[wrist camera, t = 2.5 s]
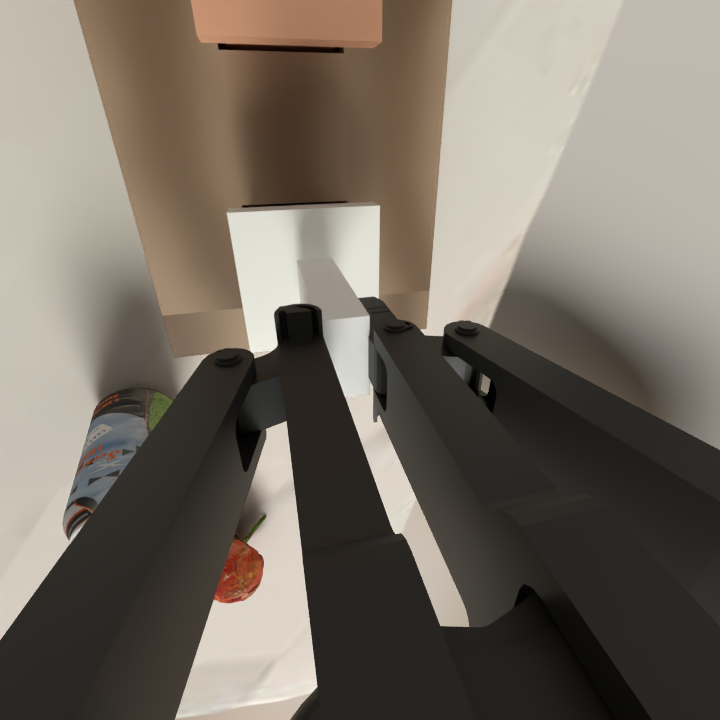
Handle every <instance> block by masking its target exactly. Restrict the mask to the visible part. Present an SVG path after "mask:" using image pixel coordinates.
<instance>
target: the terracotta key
mask: <svg viewBox="0 0 720 720" xmlns="http://www.w3.org/2000/svg"><path fill="white" fill-rule="evenodd" d="M191 5H192V10H193V16H194V22H195V28H196V34H197V37H198V38H199V40H200V42H201V43H225V46H226V49H227V50H247V51H281V52H314V53H331V52H332V50H333V49H334V48H335V47H348V48H375V47H376V46H377V45H378V44H380V43H381V42H382V0H191Z"/></svg>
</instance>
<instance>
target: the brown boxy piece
mask: <svg viewBox="0 0 720 720" xmlns="http://www.w3.org/2000/svg"><path fill="white" fill-rule="evenodd" d="M74 3H75V7H76V10H77V14H78V17H79V21H80V25H81V28H82V32H83V35H84V39H85V42H86V46H87V49H88V53H89V57H90V60H91V64H92V67H93V71H94V74H95V78H96V82H97V85H98V89H99V92H100V96H101V99H102V103H103V106H104V110H105V114H106V117H107V121H108V124H109V128H110V131H111V135H112V139H113V142H114V146H115V149H116V153H117V156H118V160H119V164H120V167H121V171H122V174H123V178H124V181H125V185H126V188H127V192H128V196H129V199H130V203H131V206H132V210H133V213H134V217H135V221H136V224H137V228H138V231H139V235H140V238H141V242H142V246H143V249H144V253H145V256H146V260H147V263H148V267H149V270H150V274H151V278H152V281H153V285H154V288H155V292H156V295H157V299H158V303H159V306H160V310H161V313H162V317H163V320H164V324H165V327H166V331H167V335H168V338H169V342H170V345H171V349H172V352H173V356H174V358H176V357H185V356H193V355H202V354H211V353H214V352H216V351H217V350H221V349H222V350H223V349H225V348H241V349H250V347H249V341H248V335H247V329H246V323H245V317H244V311H243V306H242V300H241V294H240V288H239V282H238V276H237V270H236V264H235V258H234V252H233V247H232V241H231V235H230V229H229V223H228V217H227V211H228V208H247V205H262V204H284V203H306V202H329V201H335V202H337V203H358V202H374V203H376V204H378V205H380V239H379V299H380V300H382V301H384V303H385V304H386V305H387V307H388V308H389V309H390V310H391V312H392V313H393V314H394V315H395V317H396V318H397V319H399V320H406V321H409V322H412V323H413V324H415V325H416V326H417V327H418V328H419V329H426V326H427V314H428V301H429V288H430V276H431V263H432V250H433V237H434V225H435V212H436V199H437V187H438V174H439V161H440V148H441V136H442V123H443V110H444V98H445V85H446V72H447V59H448V47H449V34H450V21H451V9H452V0H382V42H381V43H380V44H378V45H377V46H376V47H375V48H348V47H335V48H334V49H333V50H332V52H331V53H314V52H281V51H247V50H224V47H223V43H201V42H200V40H199V38H198V37H197V34H196V28H195V22H194V16H193V10H192V5H191V0H74Z"/></svg>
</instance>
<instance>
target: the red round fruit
mask: <svg viewBox="0 0 720 720" xmlns="http://www.w3.org/2000/svg"><path fill="white" fill-rule="evenodd" d="M265 518H266V515H264V516H263V517H262V518H261V519H260V520H259V522H258V523H257V524H256V525H254V526H253V527H252V530H251V532H250V533H249V534H248V536H247V537H246V538H245V539H244V540H243V539H241V538H240V537H239V536H237V535H236V534H235V535H234V538H233V541H232V544H231V547H230V550H229V554H228V557H227V560H226V563H225V566H224V569H223V572H222V575H221V578H220V581H219V584H218V587H217V591H216V594H215V597H214V600H217V601H219V602H221V603H234V602H238V601H244V600H245V599H247V598H248V597H250V596H251V595H252V594H253V593H254V592H255V591H256V589H257V588H258V586H259V585H260V582H261V579H262V575H263V567H264V561H263V557H262V555H260V554H259V553H258V551H257V550H255V549H254V548H253V547H251V546H249V545H248V544H247V542H248V540H249V539H250V537H251V535H252V534H253V533H254V531H255V530H256V529H257V528H258V526H259V525H260V524H261V523H262V522H263V520H264V519H265ZM235 537H237V538H235ZM239 538H240V539H239Z"/></svg>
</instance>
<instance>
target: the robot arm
mask: <svg viewBox="0 0 720 720" xmlns="http://www.w3.org/2000/svg"><path fill="white" fill-rule="evenodd" d="M297 270H298V281H299V292H300V303H301V304H292V305H286V306H279V308H278V309H277V310H276V311H275V312H274V320H275V328H276V335H277V343H278V344H277V347H276V348H275V349H274V350H273V351H272V352H270V353H268V354H267V355H264V356H261V357H258V358H255V359H254V355H253V354H252V352H251V351H249V350H246V349H241V348H225V349H223V350H222V349H221V350H217V351H216V352H214V353H212V354H210V355H208V356H207V357H206V358H205V359H203V361H202V362H201V363H200V365H199V366H198V368H197V369H196V370H195V372H194V373H193V374H192V376H191V377H190V379H189V380H188V381H187V383H186V384H185V386H184V387H183V388H182V390H181V391H180V392H179V394H178V395H177V397H176V398H175V399H174V401H173V402H172V404H171V405H170V406H169V408H168V409H167V410H166V412H165V413H164V415H163V416H162V417H161V419H160V420H159V422H158V423H157V424H156V426H155V427H154V428H153V430H152V431H151V433H150V434H149V435H148V437H147V438H146V440H145V441H144V442H143V444H142V445H141V446H140V448H139V449H138V451H137V452H136V453H135V455H134V456H133V458H132V459H131V460H130V462H129V463H128V464H127V466H126V467H125V469H124V470H123V471H122V473H121V474H120V475H119V477H118V478H117V480H116V481H115V482H114V484H113V485H112V487H111V488H110V489H109V491H108V492H107V493H106V495H105V496H104V498H103V499H102V500H101V502H100V503H99V505H98V506H97V507H96V509H95V510H94V511H93V513H92V514H91V516H90V517H89V518H88V520H87V521H86V523H85V524H84V525H83V527H82V528H81V529H80V531H79V532H78V534H77V535H76V536H75V538H74V539H73V541H72V542H71V543H70V545H69V546H68V547H67V549H66V550H65V552H64V553H63V554H62V556H61V557H60V559H59V560H58V561H57V563H56V564H55V565H54V567H53V568H52V570H51V571H50V572H49V574H48V575H47V576H46V578H45V579H44V581H43V582H42V583H41V585H40V586H39V588H38V589H37V590H36V592H35V593H34V594H33V596H32V597H31V599H30V600H29V601H28V603H27V604H26V606H25V607H24V608H23V610H22V611H21V612H20V614H19V615H18V617H17V618H16V619H15V621H14V622H13V624H12V625H11V626H10V628H9V629H8V630H7V632H6V633H5V635H4V636H3V637H2V639H1V640H0V720H175V717H176V714H177V711H178V708H179V705H180V702H181V698H182V695H183V692H184V689H185V686H186V683H187V680H188V677H189V674H190V671H191V668H192V665H193V661H194V658H195V655H196V652H197V649H198V646H199V643H200V640H201V637H202V634H203V631H204V628H205V624H206V621H207V618H208V615H209V612H210V609H211V606H212V603H213V600H214V597H215V594H216V591H217V587H218V584H219V581H220V578H221V575H222V572H223V569H224V566H225V563H226V560H227V557H228V554H229V550H230V547H231V544H232V541H233V538H234V535H235V532H236V529H237V526H238V523H239V520H240V517H241V513H242V510H243V507H244V504H245V501H246V498H247V495H248V492H249V489H250V486H251V483H252V480H253V476H254V473H255V470H256V467H257V464H258V461H259V458H260V455H261V452H262V449H263V446H264V443H265V440H266V428H269V427H272V426H274V425H277V424H280V423H282V422H285V421H287V428H288V436H289V444H290V453H291V461H292V470H293V478H294V487H295V495H296V504H297V512H298V520H299V529H300V537H301V546H302V557H303V566H304V575H305V583H306V592H307V600H308V609H309V617H310V626H311V634H312V643H313V651H314V660H315V668H316V677H317V685H318V687H317V688H316V689H315V690H314V691H313V693H312V694H311V695H310V696H309V697H308V698H307V699H306V700H305V701H304V702H303V703H302V704H301V706H300V707H299V709H298V710H297V711H296V713H295V714H294V715H293V717H292V718H291V720H720V450H718V449H717V448H715V447H713V446H711V445H709V444H707V443H705V442H703V441H701V440H699V439H698V438H696V437H694V436H692V435H690V434H688V433H686V432H684V431H682V430H681V429H679V428H677V427H675V426H673V425H671V424H669V423H667V422H665V421H663V420H662V419H659V418H658V417H656V416H654V415H652V414H650V413H648V412H646V411H644V410H643V409H641V408H639V407H637V406H635V405H633V404H631V403H629V402H627V401H625V400H624V399H622V398H620V397H618V396H616V395H614V394H612V393H610V392H608V391H606V390H605V389H603V388H601V387H599V386H597V385H595V384H593V383H591V382H589V381H588V380H586V379H584V378H581V377H580V376H578V375H576V374H574V373H572V372H570V371H569V370H567V369H565V368H563V367H561V366H559V365H557V364H555V363H553V362H551V361H549V360H548V359H546V358H544V357H542V356H540V355H538V354H536V353H534V352H532V351H530V350H529V349H527V348H525V347H523V346H521V345H519V344H517V343H515V342H513V341H511V340H510V339H508V338H506V337H504V336H502V335H500V334H498V333H496V332H494V331H492V330H491V329H489V328H487V327H485V326H483V325H480V324H478V323H473V322H471V321H458V322H452V323H450V324H447V325H446V326H445V327H444V334H443V336H425V335H424V334H423V333H422V332H421V331H420V329H419V328H418V327H417V326H416V325H415V324H413V323H412V322H409V321H406V320H399V319H397V318H396V317H395V315H394V314H393V313H392V312H391V310H390V309H389V308H388V307H387V305H386V304H385V303H384V301H382V300H380V299H378V298H376V297H363V298H358V297H357V295H356V294H355V292H354V291H353V289H352V288H351V286H350V285H349V283H348V282H347V280H346V279H345V277H344V276H343V274H342V273H341V271H340V269H339V268H338V266H337V265H336V263H335V262H334V260H333V259H332V257H331V258H317V259H304V260H297ZM483 374H484V375H485V376H487V377H488V378H489V379H491V381H490V387H489V392H488V394H486V393H484V392H483V391H481V383H482V378H483ZM370 381H371V383H372V385H373V420H374V422H377V417H378V415H380V417H381V420H382V422H383V424H384V426H385V429H386V431H387V433H388V435H389V438H390V440H391V442H392V444H393V446H394V449H395V451H396V453H397V455H398V458H399V460H400V462H401V464H402V467H403V469H404V471H405V473H406V475H407V478H408V480H409V482H410V484H411V487H412V489H413V491H414V493H415V496H416V498H417V500H418V502H419V504H420V507H421V509H422V511H423V513H424V515H425V518H426V520H427V522H428V525H429V527H430V529H431V531H432V533H433V536H434V538H435V540H436V542H437V545H438V547H439V549H440V551H441V553H442V556H443V558H444V560H445V562H446V565H447V567H448V569H449V571H450V574H451V576H452V578H453V580H454V583H455V585H456V587H457V589H458V591H459V594H460V595H461V598H462V600H463V603H464V605H465V608H466V611H467V615H468V620H469V626H470V627H447V626H440V624H439V622H438V619H437V617H436V614H435V611H434V609H433V606H432V604H431V601H430V598H429V596H428V593H427V590H426V588H425V585H424V583H423V580H422V577H421V575H420V572H419V570H418V567H417V564H416V562H415V559H414V556H413V554H412V551H411V549H410V547H409V545H408V543H407V540H406V539H405V537H404V536H403V535H402V534H401V533H400V534H395V533H394V532H393V530H392V527H391V525H390V522H389V520H388V517H387V514H386V511H385V508H384V505H383V503H382V500H381V497H380V494H379V491H378V489H377V486H376V483H375V480H374V477H373V475H372V472H371V469H370V466H369V463H368V460H367V458H366V455H365V452H364V449H363V446H362V444H361V441H360V438H359V435H358V432H357V430H356V427H355V424H354V421H353V418H352V416H351V413H350V410H349V407H348V404H347V401H346V399H345V398H348V397H355V396H362V395H369V394H370Z"/></svg>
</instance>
